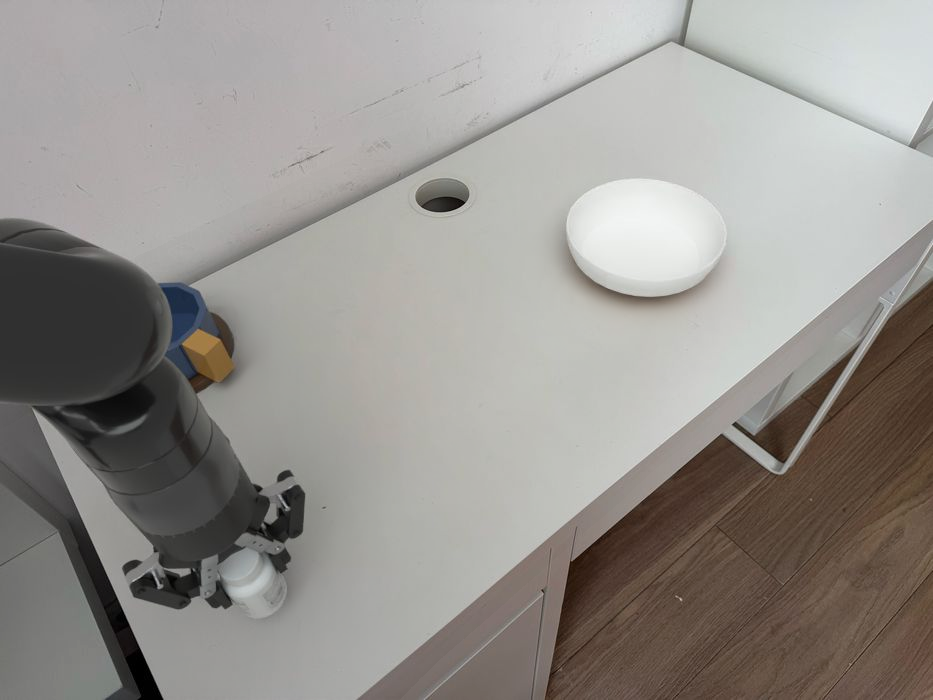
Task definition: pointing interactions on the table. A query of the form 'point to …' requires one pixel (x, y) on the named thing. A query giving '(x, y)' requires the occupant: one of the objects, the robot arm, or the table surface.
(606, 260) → the bowl
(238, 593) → the pill bottle
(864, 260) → the table surface
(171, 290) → the serving bowl
